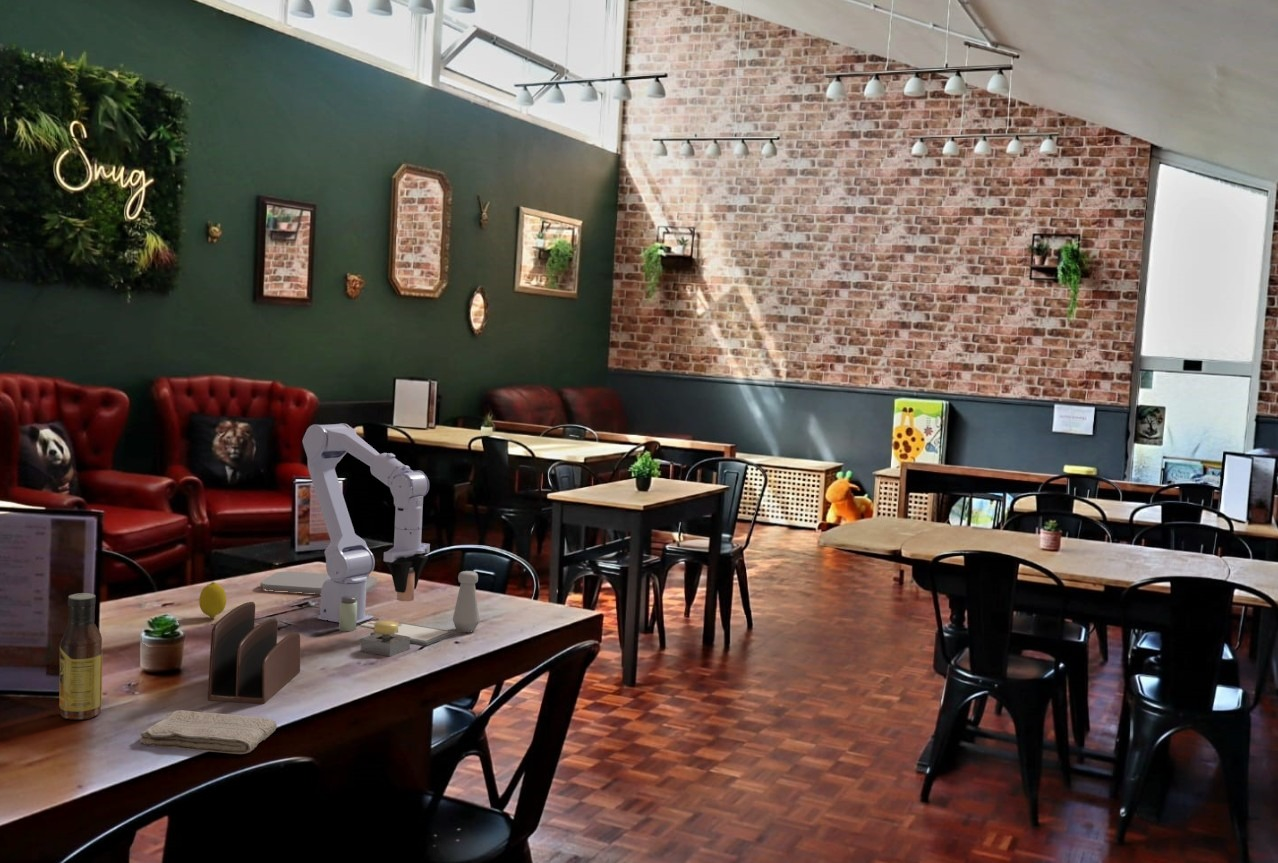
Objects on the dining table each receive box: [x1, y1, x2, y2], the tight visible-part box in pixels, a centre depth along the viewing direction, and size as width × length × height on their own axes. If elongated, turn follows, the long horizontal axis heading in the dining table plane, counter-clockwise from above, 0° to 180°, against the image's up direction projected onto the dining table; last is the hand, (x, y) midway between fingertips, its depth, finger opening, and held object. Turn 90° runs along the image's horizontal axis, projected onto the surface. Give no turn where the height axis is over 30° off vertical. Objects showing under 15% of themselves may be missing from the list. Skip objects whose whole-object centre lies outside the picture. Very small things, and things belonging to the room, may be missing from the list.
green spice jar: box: [338, 596, 357, 632], centre depth 253 cm, size 4×4×7 cm
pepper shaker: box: [396, 566, 415, 602], centre depth 253 cm, size 4×4×7 cm
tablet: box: [259, 571, 378, 594], centre depth 291 cm, size 16×26×2 cm, turn 88°
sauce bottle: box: [58, 592, 103, 721], centre depth 189 cm, size 7×6×20 cm
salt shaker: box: [452, 570, 480, 633], centre depth 258 cm, size 6×6×13 cm
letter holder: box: [207, 601, 301, 705], centre depth 211 cm, size 10×20×14 cm, turn 179°
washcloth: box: [139, 709, 278, 755], centre depth 184 cm, size 12×18×3 cm, turn 86°
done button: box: [373, 620, 399, 640], centre depth 239 cm, size 5×5×4 cm
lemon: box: [198, 582, 227, 619], centre depth 256 cm, size 6×6×8 cm
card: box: [360, 620, 377, 629], centre depth 258 cm, size 5×4×1 cm
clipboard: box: [370, 622, 456, 646], centre depth 252 cm, size 14×11×1 cm
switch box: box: [360, 633, 411, 657], centre depth 239 cm, size 7×7×2 cm
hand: (405, 590), depth 253 cm, fingers closed on pepper shaker, 4 cm apart
